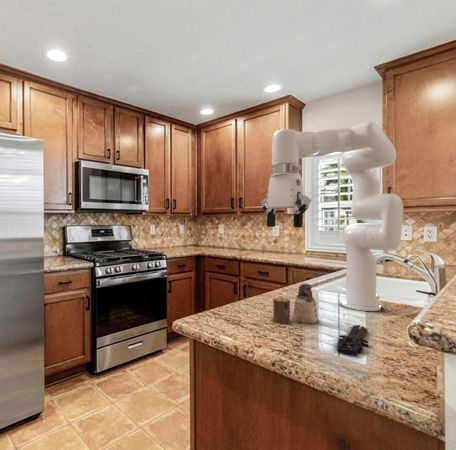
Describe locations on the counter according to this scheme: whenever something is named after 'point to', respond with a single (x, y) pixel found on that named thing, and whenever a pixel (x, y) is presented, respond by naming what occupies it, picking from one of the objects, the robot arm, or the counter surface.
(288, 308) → the glossy brown cylinder
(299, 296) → the figurine
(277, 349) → the counter surface
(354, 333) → the dark flat slotted piece
